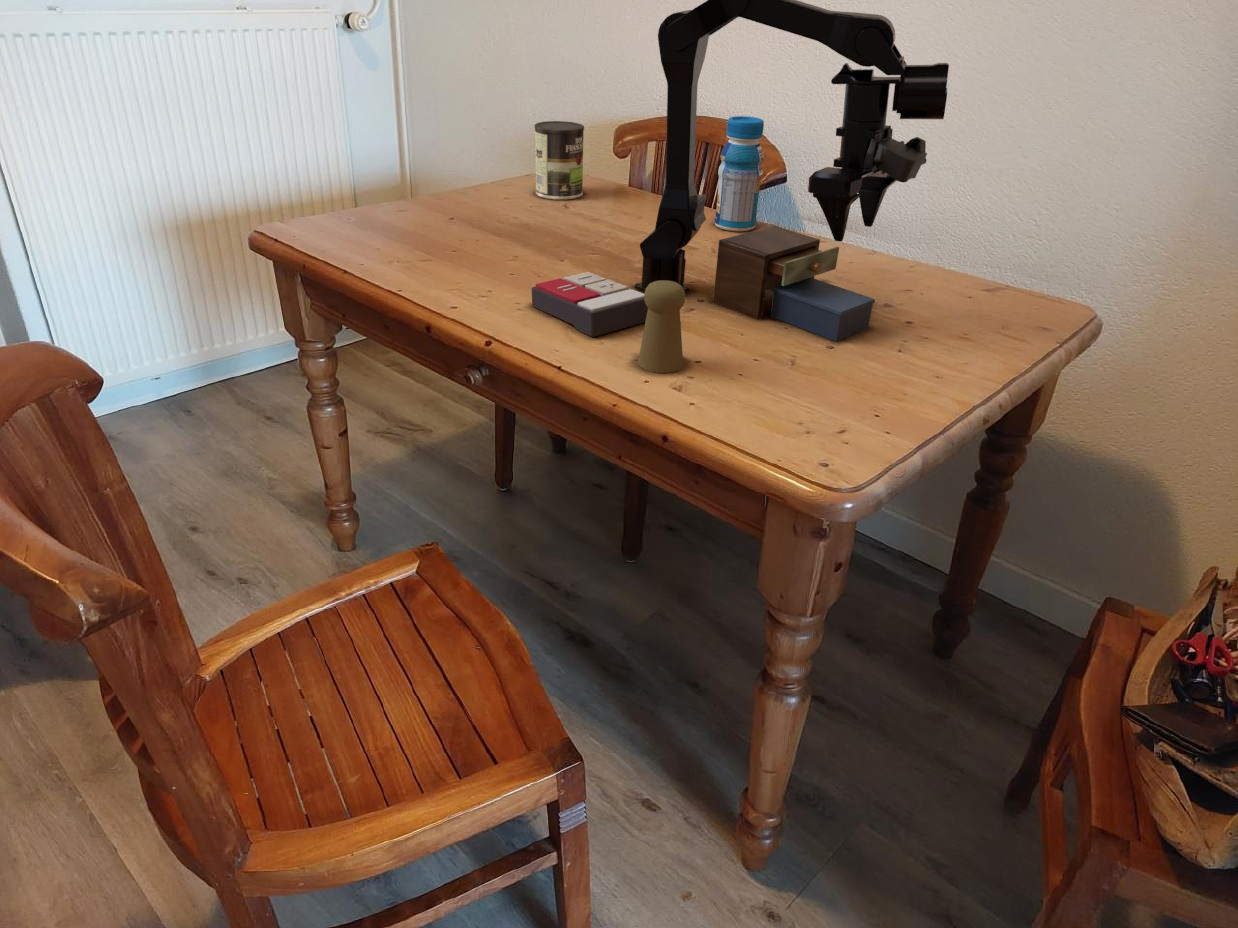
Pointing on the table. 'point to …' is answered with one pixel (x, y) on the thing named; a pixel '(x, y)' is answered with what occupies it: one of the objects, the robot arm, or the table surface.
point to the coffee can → (559, 159)
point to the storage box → (822, 308)
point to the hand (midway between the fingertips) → (853, 233)
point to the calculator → (591, 303)
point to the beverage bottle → (740, 175)
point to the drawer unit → (753, 266)
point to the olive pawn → (662, 328)
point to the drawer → (803, 264)
